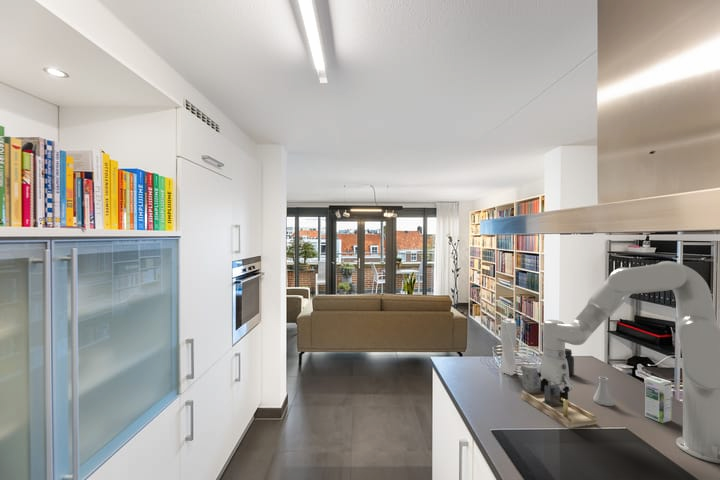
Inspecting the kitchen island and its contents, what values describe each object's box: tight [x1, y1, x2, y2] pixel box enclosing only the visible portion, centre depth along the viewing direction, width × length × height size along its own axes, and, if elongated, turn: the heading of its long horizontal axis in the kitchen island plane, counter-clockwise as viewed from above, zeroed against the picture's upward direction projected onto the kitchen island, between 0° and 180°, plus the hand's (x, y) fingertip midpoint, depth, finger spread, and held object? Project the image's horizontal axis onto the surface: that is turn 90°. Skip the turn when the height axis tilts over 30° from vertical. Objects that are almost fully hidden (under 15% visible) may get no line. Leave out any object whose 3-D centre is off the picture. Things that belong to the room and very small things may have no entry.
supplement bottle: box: [565, 348, 575, 377], centre depth 172 cm, size 7×7×12 cm
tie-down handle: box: [542, 383, 563, 407], centre depth 136 cm, size 3×8×7 cm, turn 103°
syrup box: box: [644, 375, 672, 424], centre depth 129 cm, size 6×6×14 cm
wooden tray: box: [520, 385, 597, 429], centre depth 135 cm, size 24×12×9 cm, turn 14°
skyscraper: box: [500, 315, 518, 376], centre depth 173 cm, size 8×8×28 cm
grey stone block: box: [520, 362, 552, 388], centre depth 155 cm, size 10×8×10 cm
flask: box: [592, 376, 615, 407], centre depth 141 cm, size 7×7×10 cm
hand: (553, 396), depth 136 cm, fingers open, 9 cm apart
